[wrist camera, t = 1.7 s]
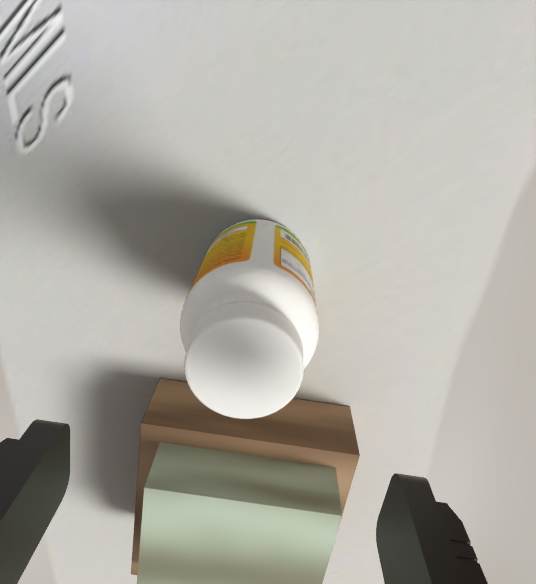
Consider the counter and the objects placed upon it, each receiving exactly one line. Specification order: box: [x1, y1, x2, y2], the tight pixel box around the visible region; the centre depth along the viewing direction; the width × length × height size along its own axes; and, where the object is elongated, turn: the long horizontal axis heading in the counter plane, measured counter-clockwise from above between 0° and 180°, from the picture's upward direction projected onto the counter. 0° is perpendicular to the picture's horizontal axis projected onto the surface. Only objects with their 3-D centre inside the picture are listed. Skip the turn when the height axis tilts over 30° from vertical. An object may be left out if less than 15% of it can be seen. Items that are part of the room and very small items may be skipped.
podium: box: [131, 378, 360, 584], centre depth 27 cm, size 11×11×7 cm
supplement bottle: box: [180, 219, 319, 419], centre depth 21 cm, size 5×5×10 cm
